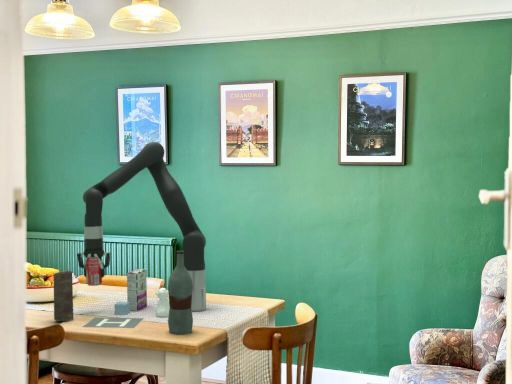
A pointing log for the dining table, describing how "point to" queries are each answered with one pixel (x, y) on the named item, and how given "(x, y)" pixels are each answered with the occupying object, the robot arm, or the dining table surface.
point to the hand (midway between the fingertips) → (94, 277)
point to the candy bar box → (137, 289)
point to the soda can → (93, 271)
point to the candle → (63, 296)
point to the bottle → (180, 298)
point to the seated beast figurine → (162, 303)
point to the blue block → (122, 308)
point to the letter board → (114, 322)
